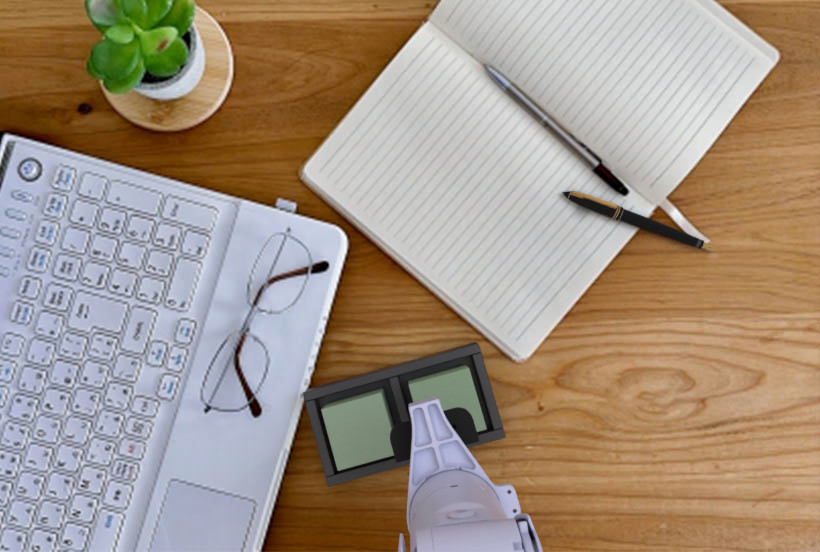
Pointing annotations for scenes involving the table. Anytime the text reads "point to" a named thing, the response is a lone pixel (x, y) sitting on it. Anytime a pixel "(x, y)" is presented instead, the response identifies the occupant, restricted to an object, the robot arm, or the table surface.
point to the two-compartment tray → (384, 412)
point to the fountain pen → (634, 219)
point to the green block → (450, 391)
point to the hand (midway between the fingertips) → (448, 486)
